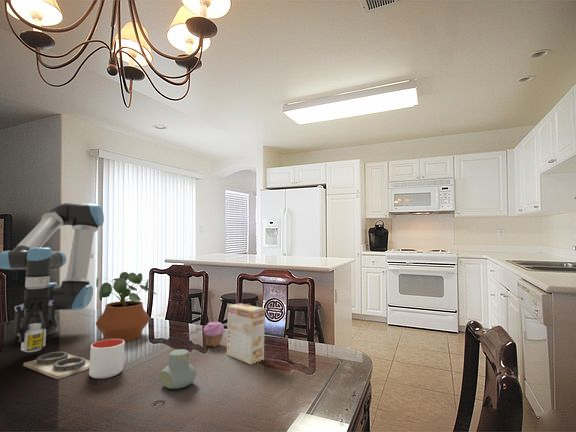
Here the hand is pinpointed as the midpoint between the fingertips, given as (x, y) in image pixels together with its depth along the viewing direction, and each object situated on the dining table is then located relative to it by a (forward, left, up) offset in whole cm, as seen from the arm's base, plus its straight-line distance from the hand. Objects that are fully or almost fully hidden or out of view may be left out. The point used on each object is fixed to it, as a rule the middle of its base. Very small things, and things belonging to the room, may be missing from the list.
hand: (33, 347), depth 123 cm
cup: (-4, +40, -3) cm, 41 cm away
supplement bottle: (0, 0, -1) cm, 1 cm away
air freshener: (-10, +67, -3) cm, 68 cm away
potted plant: (-35, +7, -3) cm, 36 cm away
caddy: (0, +20, -3) cm, 20 cm away
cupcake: (-45, +51, -3) cm, 68 cm away
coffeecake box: (-40, +71, -3) cm, 82 cm away
